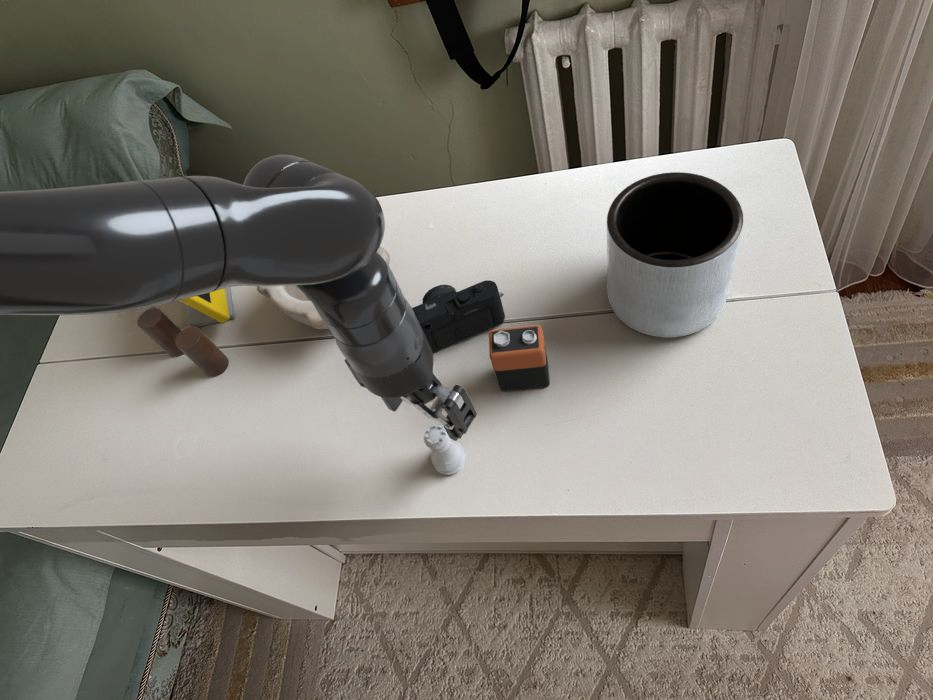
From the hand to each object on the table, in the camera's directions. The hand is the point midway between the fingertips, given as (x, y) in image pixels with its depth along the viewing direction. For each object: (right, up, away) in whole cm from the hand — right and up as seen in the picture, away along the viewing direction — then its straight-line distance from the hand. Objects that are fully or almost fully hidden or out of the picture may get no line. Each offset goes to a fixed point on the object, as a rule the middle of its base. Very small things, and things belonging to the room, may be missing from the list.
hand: (427, 418), depth 72 cm
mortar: (-15, +15, +28) cm, 36 cm away
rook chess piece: (+2, -6, +10) cm, 12 cm away
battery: (+12, +4, +14) cm, 19 cm away
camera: (+4, +12, +21) cm, 25 cm away
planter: (+33, +16, +17) cm, 40 cm away
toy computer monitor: (-39, +17, +35) cm, 55 cm away
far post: (-42, +8, +30) cm, 52 cm away
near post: (-34, +5, +26) cm, 44 cm away
